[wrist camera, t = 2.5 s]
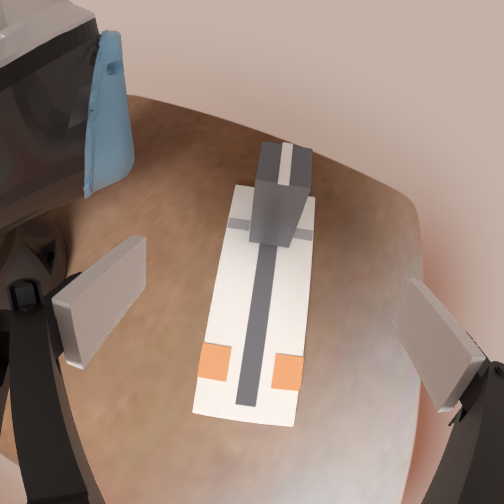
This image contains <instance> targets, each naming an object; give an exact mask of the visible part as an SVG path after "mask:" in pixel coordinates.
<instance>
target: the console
mask: <svg viewBox="0 0 504 504" xmlns="http://www.w3.org/2000/svg"><path fill="white" fill-rule="evenodd" d="M253 197H254V187H249V186H242V185H236V186H235V190H234V195H233V199H232V204H231V209H230V213H229V218H228V223H227V228H226V232H225V237H224V242H223V247H222V252H221V257H220V262H219V267H218V272H217V277H216V282H215V287H214V292H213V298H212V303H211V308H210V313H209V319H208V324H207V330H206V335H205V341H204V343H203V345H202V350H201V356H200V362H199V368H198V373H197V377H198V381H197V387H196V393H195V399H194V405H193V411H192V413H196V414H201V415H207V416H212V417H218V418H224V419H230V420H237V421H244V422H252V423H260V424H269V425H280V426H292V427H293V425H294V419H295V412H296V405H297V398H298V391H300V386H301V378H302V370H303V362H304V357H303V350H304V341H305V332H306V322H307V312H308V301H309V289H310V277H311V263H312V248H313V231H314V212H315V197H310V196H308V198H307V201H306V204H305V206H304V209H303V212H302V214H301V217H300V220H299V222H298V225H297V228H296V230H295V233H294V236H293V238H292V241H291V243H290V246H289V248H286V247H279V246H273V245H267V244H260V243H254V242H249V235H250V225H251V216H252V206H253Z"/></svg>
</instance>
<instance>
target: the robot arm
mask: <svg viewBox="0 0 504 504" xmlns="http://www.w3.org/2000/svg"><path fill="white" fill-rule="evenodd" d="M134 160H135V154H134V145H133V138H132V131H131V124H130V117H129V109H128V102H127V94H126V86H125V78H124V68H123V59H122V45H121V35H120V33H119V32H118V31H109V30H105V31H103V32H102V34H101V35H100V34H99V32H98V28H97V24H96V19H95V15H94V13H93V12H91V11H89V10H86V9H84V8H81V7H79V6H76V5H74V4H72V3H71V2H70V1H69V0H0V434H1V427H2V421H3V415H4V410H5V404H6V400H7V395H8V390H9V386H10V399H11V411H12V421H13V429H14V436H15V443H16V449H17V455H18V460H19V465H20V470H21V475H22V479H23V483H24V487H25V491H26V495H27V504H106V503H105V501H104V499H103V497H102V495H101V493H100V490H99V488H98V486H97V484H96V481H95V479H94V476H93V474H92V471H91V469H90V466H89V464H88V461H87V458H86V456H85V453H84V450H83V447H82V445H81V442H80V439H79V436H78V432H77V429H76V426H75V423H74V419H73V416H72V412H71V409H70V405H69V401H68V398H67V394H66V389H65V385H64V381H63V376H62V372H61V367H60V363H59V359H58V357H59V356H60V355H61V354H62V352H63V351H64V355H65V359H66V362H67V364H69V365H72V366H75V367H77V368H80V369H83V370H84V369H85V367H86V366H87V365H88V363H89V362H90V360H91V359H92V358H93V356H94V355H95V353H96V352H97V351H98V349H99V348H100V347H101V345H102V344H103V343H104V341H105V340H106V339H107V337H108V336H109V334H110V333H111V332H112V330H113V329H114V328H115V327H116V325H117V324H118V323H119V321H120V320H121V319H122V317H123V316H124V315H125V313H126V312H127V311H128V310H129V308H130V307H131V306H132V304H133V303H134V302H135V301H136V299H137V298H138V297H139V295H140V294H141V293H142V292H143V290H144V289H145V288H146V237H145V236H139V235H133V234H132V235H131V236H130V237H128V238H127V239H126V240H124V241H123V242H121V243H120V244H119V245H118V246H116V247H115V248H114V249H112V250H111V251H110V252H108V253H107V254H106V255H104V256H103V257H102V258H101V259H99V260H98V261H97V262H95V263H94V264H93V265H92V266H90V267H89V268H88V269H87V270H85V271H84V272H83V273H82V272H78V273H76V274H73V275H71V276H69V277H68V278H67V279H65V274H66V268H67V249H66V244H65V240H64V238H63V235H62V233H61V232H60V230H59V229H58V227H57V226H56V225H55V224H54V223H53V222H52V221H51V220H50V219H49V218H48V217H47V216H46V215H44V214H46V213H48V212H50V211H52V210H54V209H56V208H59V207H61V206H63V205H65V204H67V203H70V202H72V201H74V200H77V199H79V198H81V197H83V196H84V198H85V199H87V198H89V197H90V196H91V194H92V193H94V192H96V191H98V190H100V189H102V188H104V187H107V186H109V185H111V184H113V183H116V182H118V181H120V180H122V179H123V178H125V177H126V176H127V175H128V174H129V172H130V171H131V169H132V167H133V164H134ZM64 279H65V280H64ZM391 324H392V326H393V327H394V329H395V331H396V333H397V335H398V336H399V338H400V340H401V342H402V344H403V345H404V347H405V349H406V351H407V353H408V355H409V357H410V359H411V360H412V362H413V364H414V366H415V368H416V370H417V372H418V374H419V376H420V378H421V380H422V382H423V383H424V386H425V388H426V390H427V392H428V394H429V396H430V398H431V400H432V402H433V404H434V406H435V408H436V410H437V412H446V411H452V409H453V408H454V406H455V405H456V404H457V402H458V400H460V402H461V404H462V407H461V409H460V410H459V411H458V413H457V414H456V415H455V417H454V418H453V419H452V421H451V422H450V423H449V425H448V426H451V425H452V423H454V426H453V429H452V432H451V435H450V438H449V441H448V443H447V446H446V449H445V451H444V454H443V456H442V459H441V461H440V464H439V466H438V469H437V471H436V474H435V476H434V478H433V480H432V482H431V485H430V487H429V489H428V491H427V493H426V495H425V497H424V499H423V501H422V503H421V504H504V364H503V363H500V362H497V361H493V362H490V361H489V359H488V358H487V356H486V355H485V354H484V353H483V352H482V350H481V349H480V348H479V346H477V344H476V342H475V341H473V339H472V338H471V336H470V335H469V334H468V333H467V332H466V331H465V330H464V329H463V328H462V327H461V325H460V324H459V323H458V322H457V321H456V319H455V318H454V317H453V316H452V315H451V314H450V313H449V311H448V310H447V309H446V308H445V307H444V305H443V304H442V303H441V302H440V301H439V300H438V299H437V298H436V296H435V295H434V294H433V293H432V292H431V291H430V290H429V289H428V288H427V286H426V285H425V284H424V283H423V282H422V281H421V280H420V279H415V278H409V277H408V279H407V282H406V284H405V287H404V290H403V293H402V296H401V298H400V301H399V304H398V306H397V309H396V312H395V314H394V317H393V319H392V322H391Z"/></svg>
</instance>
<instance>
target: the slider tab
mask: <svg viewBox="0 0 504 504" xmlns="http://www.w3.org/2000/svg"><path fill="white" fill-rule="evenodd" d="M311 178H312V149H309V148H304V147H298V146H293V144H291V143H285V142H283V144H280V143H274V142H267V141H262V145H261V151H260V156H259V162H258V167H257V173H256V179H255V187H254V197H253V206H252V216H251V225H250V235H249V242H254V243H260V244H267V245H273V246H279V247H286V248H289V246H290V243H291V241H292V238H293V236H294V233H295V230H296V228H297V225H298V222H299V220H300V217H301V214H302V212H303V209H304V206H305V204H306V201H307V198H308V196H309V193H310V190H311Z"/></svg>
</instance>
